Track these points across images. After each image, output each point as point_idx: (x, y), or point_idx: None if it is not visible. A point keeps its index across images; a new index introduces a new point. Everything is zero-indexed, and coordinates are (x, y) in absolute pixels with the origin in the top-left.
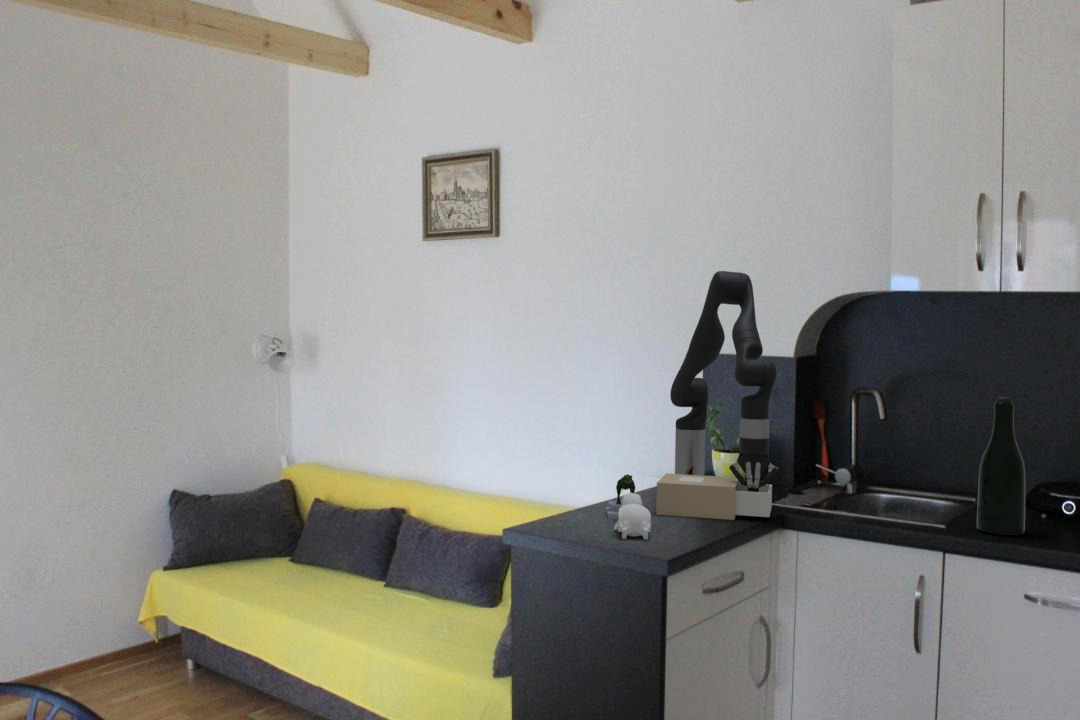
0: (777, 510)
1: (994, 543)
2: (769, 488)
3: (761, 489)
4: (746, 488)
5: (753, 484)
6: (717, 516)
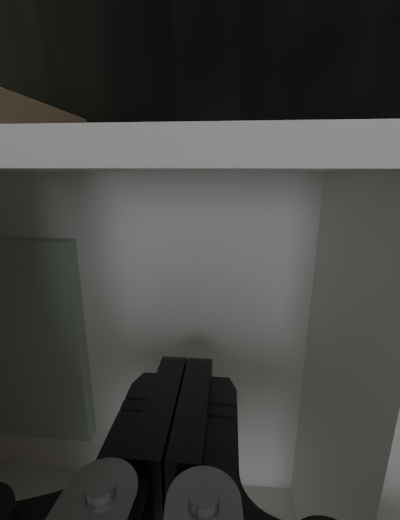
0: (384, 83)
1: None
2: (390, 505)
3: (270, 169)
4: (57, 169)
5: (132, 165)
6: None
